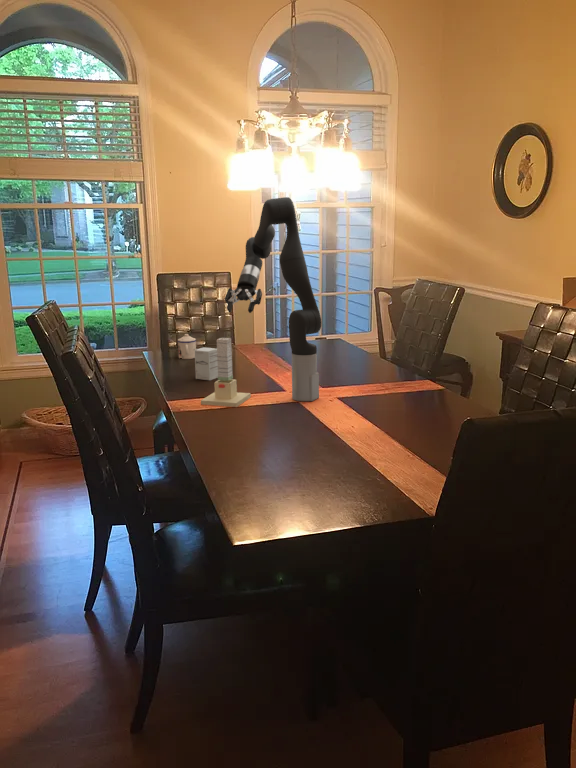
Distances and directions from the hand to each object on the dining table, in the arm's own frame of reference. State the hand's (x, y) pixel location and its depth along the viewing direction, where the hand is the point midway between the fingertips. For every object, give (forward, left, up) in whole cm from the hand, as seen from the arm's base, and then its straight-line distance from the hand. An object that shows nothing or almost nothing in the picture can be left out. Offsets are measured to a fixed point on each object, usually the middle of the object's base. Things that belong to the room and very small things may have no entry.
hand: (239, 311), depth 252 cm
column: (-5, +19, -22) cm, 30 cm away
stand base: (-5, +19, -31) cm, 36 cm away
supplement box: (+22, -8, -31) cm, 39 cm away
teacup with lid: (+55, -39, -31) cm, 75 cm away
